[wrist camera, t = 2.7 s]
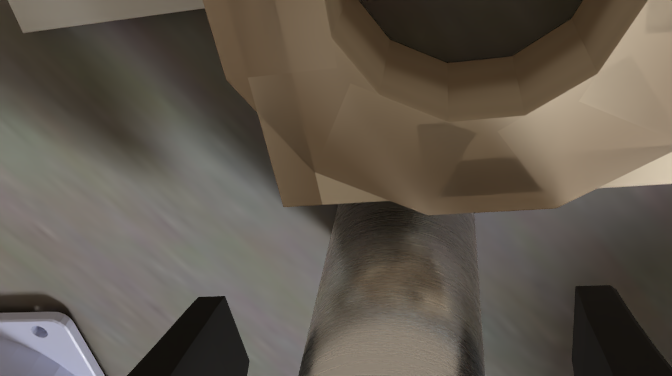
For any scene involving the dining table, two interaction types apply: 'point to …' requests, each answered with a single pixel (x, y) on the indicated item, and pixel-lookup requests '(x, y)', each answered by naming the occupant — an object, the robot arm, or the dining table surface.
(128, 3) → the rubber mat
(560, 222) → the dining table surface
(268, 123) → the socket block
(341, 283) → the salt shaker
